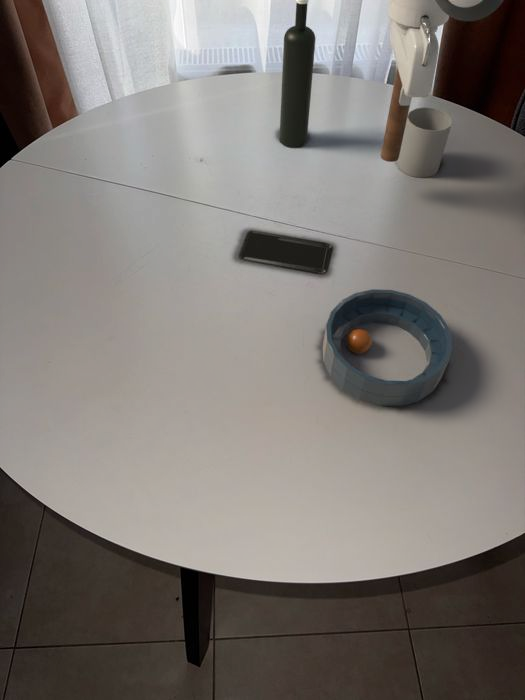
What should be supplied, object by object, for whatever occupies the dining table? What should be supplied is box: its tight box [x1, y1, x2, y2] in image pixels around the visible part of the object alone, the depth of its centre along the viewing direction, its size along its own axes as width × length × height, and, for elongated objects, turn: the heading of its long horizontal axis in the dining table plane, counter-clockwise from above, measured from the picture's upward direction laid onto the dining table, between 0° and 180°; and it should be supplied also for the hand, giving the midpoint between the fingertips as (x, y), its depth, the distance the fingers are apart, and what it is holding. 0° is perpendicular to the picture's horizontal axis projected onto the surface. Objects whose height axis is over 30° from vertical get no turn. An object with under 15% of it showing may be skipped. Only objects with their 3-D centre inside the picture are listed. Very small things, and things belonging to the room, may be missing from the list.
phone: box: [237, 229, 333, 275], centre depth 99 cm, size 8×1×15 cm
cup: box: [396, 106, 453, 179], centre depth 113 cm, size 8×8×10 cm
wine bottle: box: [279, 0, 316, 149], centre depth 110 cm, size 6×6×30 cm
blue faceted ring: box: [322, 288, 454, 407], centre depth 83 cm, size 17×17×6 cm
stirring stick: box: [380, 67, 411, 163], centre depth 97 cm, size 3×3×16 cm
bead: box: [346, 328, 373, 355], centre depth 85 cm, size 4×4×4 cm
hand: (401, 96), depth 94 cm, fingers closed on stirring stick, 3 cm apart
